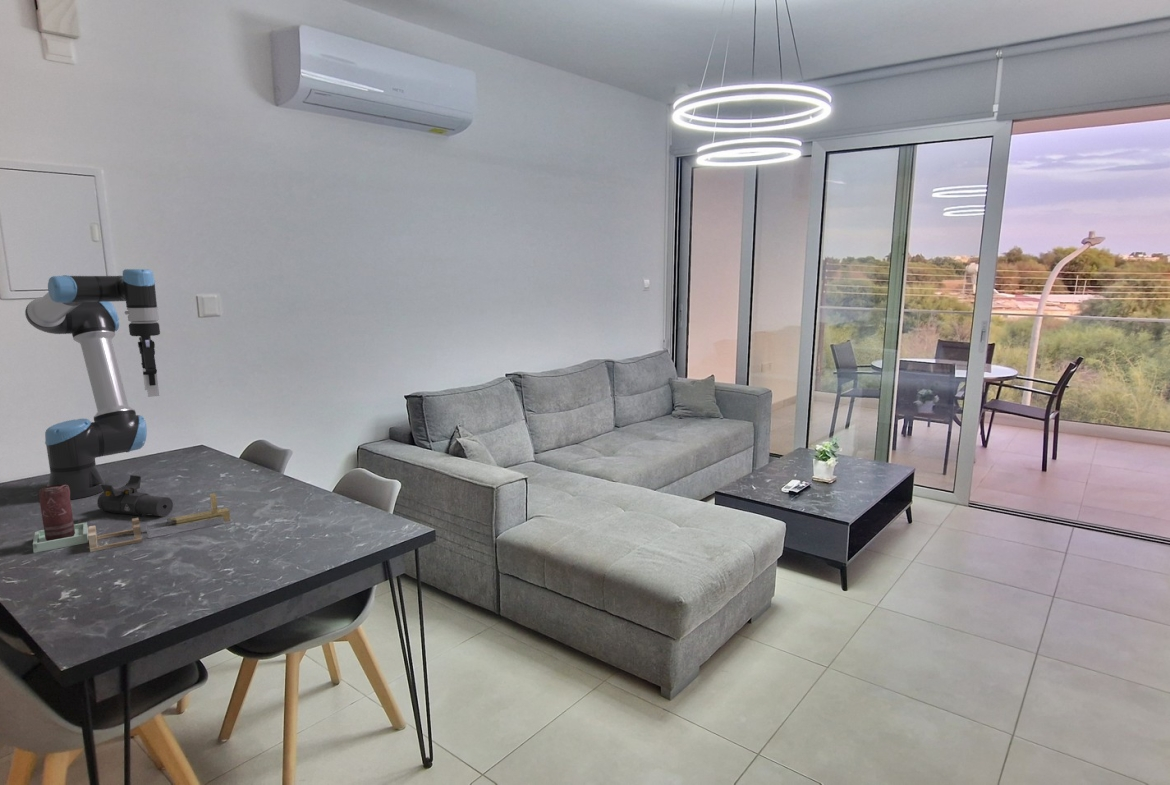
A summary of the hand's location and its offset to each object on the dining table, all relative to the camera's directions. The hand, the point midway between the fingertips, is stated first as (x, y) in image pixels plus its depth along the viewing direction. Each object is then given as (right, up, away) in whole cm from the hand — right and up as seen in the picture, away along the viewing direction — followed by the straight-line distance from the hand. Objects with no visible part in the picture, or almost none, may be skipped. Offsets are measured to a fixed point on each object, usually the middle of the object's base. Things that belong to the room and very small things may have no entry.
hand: (151, 393), depth 196 cm
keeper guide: (+19, -38, -13) cm, 44 cm away
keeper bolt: (+22, -37, -11) cm, 45 cm away
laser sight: (-3, -36, -2) cm, 36 cm away
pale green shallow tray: (-9, -39, -23) cm, 46 cm away
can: (-8, -39, -23) cm, 46 cm away
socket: (+6, -39, -23) cm, 46 cm away
